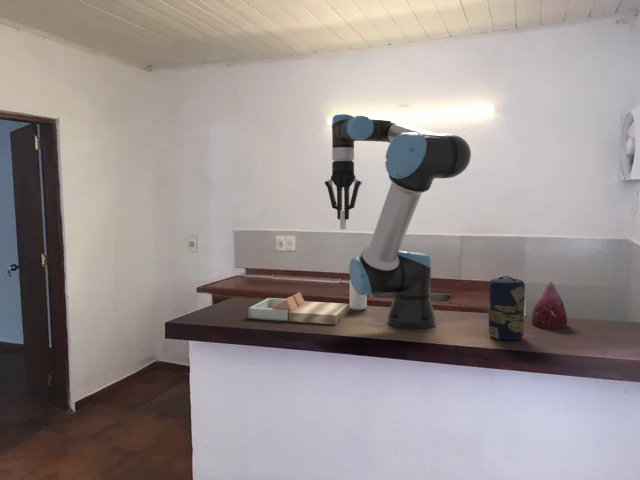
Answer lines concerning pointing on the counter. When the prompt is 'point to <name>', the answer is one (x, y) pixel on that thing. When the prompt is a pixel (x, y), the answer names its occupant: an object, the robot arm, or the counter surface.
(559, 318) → the vegetable
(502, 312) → the canister
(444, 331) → the counter surface
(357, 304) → the beverage can
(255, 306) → the tray
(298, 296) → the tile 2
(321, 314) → the board
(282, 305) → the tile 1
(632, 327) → the counter surface
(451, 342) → the counter surface
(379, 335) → the counter surface
